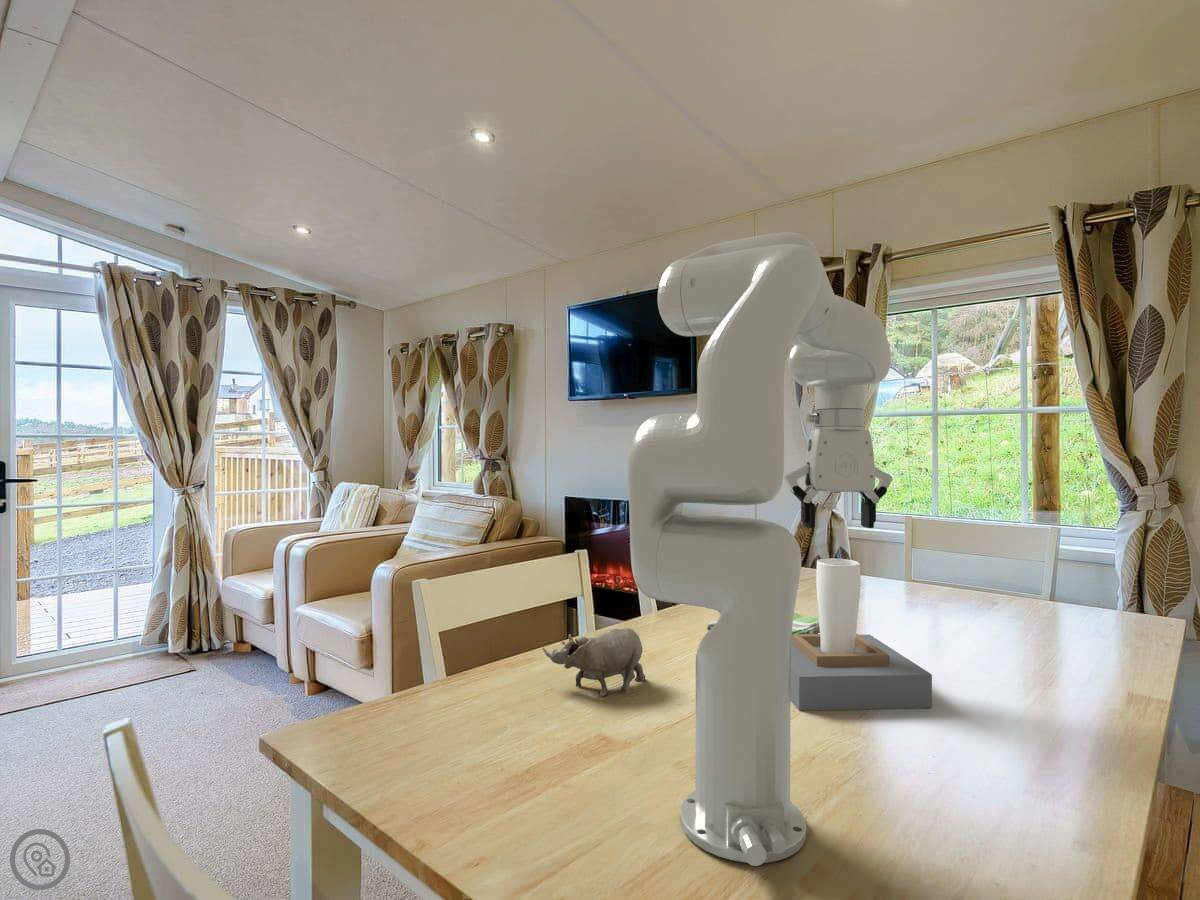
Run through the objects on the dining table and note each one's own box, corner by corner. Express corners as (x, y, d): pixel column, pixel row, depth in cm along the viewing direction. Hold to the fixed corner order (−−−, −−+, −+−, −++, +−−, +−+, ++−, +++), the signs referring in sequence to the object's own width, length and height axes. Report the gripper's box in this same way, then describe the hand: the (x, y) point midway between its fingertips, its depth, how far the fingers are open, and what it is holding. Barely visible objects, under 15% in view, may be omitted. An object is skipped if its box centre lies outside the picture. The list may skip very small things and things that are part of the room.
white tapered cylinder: (863, 662, 102) (864, 566, 102) (818, 659, 103) (819, 564, 103) (855, 648, 108) (856, 558, 108) (813, 646, 110) (813, 557, 110)
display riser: (931, 708, 97) (932, 664, 96) (799, 710, 96) (799, 666, 95) (869, 662, 116) (869, 626, 116) (759, 664, 116) (759, 627, 115)
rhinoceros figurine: (672, 676, 102) (616, 601, 101) (605, 735, 99) (546, 658, 98) (658, 664, 110) (605, 594, 109) (594, 719, 107) (540, 647, 106)
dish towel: (703, 633, 136) (704, 617, 136) (769, 614, 150) (769, 599, 150) (774, 654, 122) (774, 635, 122) (838, 631, 137) (838, 614, 137)
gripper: (794, 420, 101) (793, 530, 101) (903, 421, 102) (902, 530, 102) (779, 422, 109) (778, 524, 109) (880, 423, 110) (879, 524, 110)
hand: (838, 527), depth 105 cm, fingers open, 9 cm apart
